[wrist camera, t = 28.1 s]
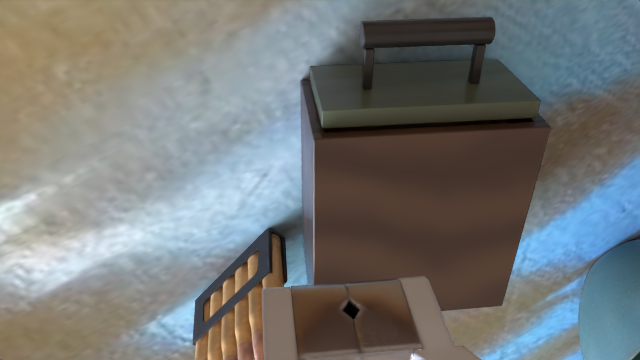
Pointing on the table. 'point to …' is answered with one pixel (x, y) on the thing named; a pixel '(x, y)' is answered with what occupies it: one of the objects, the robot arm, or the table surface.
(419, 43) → the drawer
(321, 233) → the cabinet
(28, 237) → the table surface
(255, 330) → the ammunition clip
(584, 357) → the teal bowl
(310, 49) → the table surface
